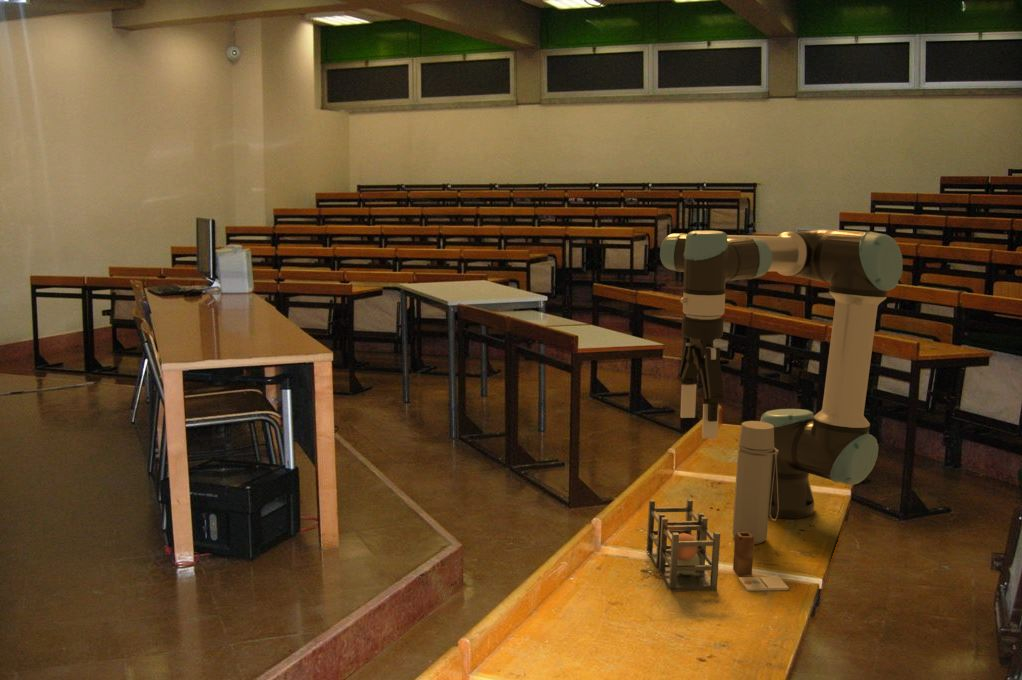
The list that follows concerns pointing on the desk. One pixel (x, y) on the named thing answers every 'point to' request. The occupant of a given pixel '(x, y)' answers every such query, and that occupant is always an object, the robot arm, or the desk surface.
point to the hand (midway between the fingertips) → (698, 427)
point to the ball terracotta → (686, 548)
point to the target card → (763, 583)
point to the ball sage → (692, 561)
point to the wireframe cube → (651, 533)
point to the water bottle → (754, 479)
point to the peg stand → (743, 553)
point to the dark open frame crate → (697, 579)
